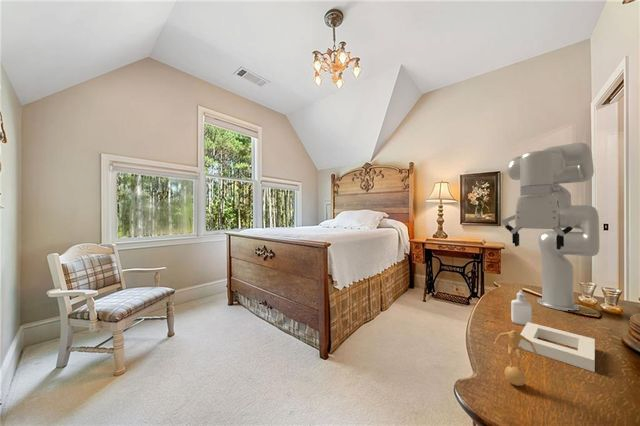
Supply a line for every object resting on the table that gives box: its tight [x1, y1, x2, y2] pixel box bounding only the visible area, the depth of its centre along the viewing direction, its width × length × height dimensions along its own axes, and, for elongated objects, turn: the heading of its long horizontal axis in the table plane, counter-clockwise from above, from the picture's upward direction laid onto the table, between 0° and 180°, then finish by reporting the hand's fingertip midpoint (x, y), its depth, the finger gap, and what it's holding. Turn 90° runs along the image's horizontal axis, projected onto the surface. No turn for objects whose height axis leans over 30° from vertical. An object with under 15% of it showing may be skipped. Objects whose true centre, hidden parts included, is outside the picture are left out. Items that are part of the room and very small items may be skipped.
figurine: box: [493, 329, 539, 387], centre depth 58 cm, size 8×6×12 cm
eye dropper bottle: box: [510, 289, 533, 326], centre depth 87 cm, size 4×6×12 cm
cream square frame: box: [518, 322, 596, 373], centre depth 71 cm, size 15×15×3 cm
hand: (536, 247), depth 75 cm, fingers open, 9 cm apart
